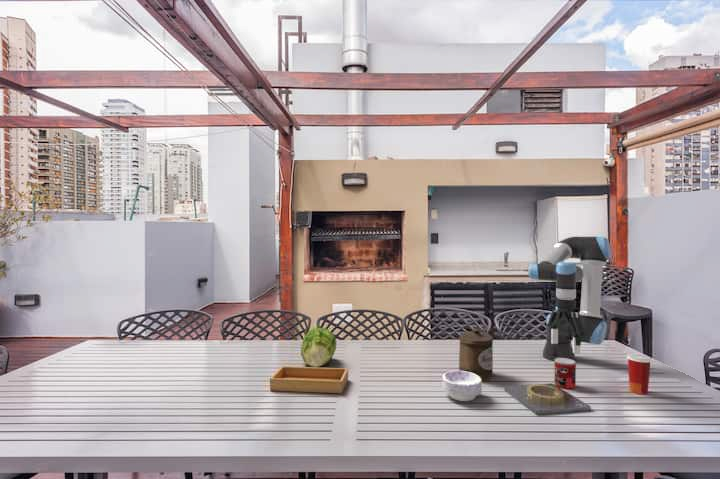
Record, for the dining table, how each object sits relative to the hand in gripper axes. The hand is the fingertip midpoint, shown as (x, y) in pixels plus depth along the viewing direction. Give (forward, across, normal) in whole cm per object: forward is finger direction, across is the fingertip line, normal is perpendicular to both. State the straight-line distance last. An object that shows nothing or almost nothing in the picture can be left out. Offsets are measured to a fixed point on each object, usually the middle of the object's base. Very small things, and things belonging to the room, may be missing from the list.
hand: (565, 348), depth 163 cm
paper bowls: (+17, +3, -48) cm, 51 cm away
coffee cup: (+16, +10, +26) cm, 33 cm away
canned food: (+17, 0, 0) cm, 17 cm away
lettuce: (+17, -44, -103) cm, 113 cm away
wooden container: (+17, -18, -32) cm, 40 cm away
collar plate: (+17, +11, -17) cm, 26 cm away
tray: (+18, -18, -108) cm, 111 cm away
